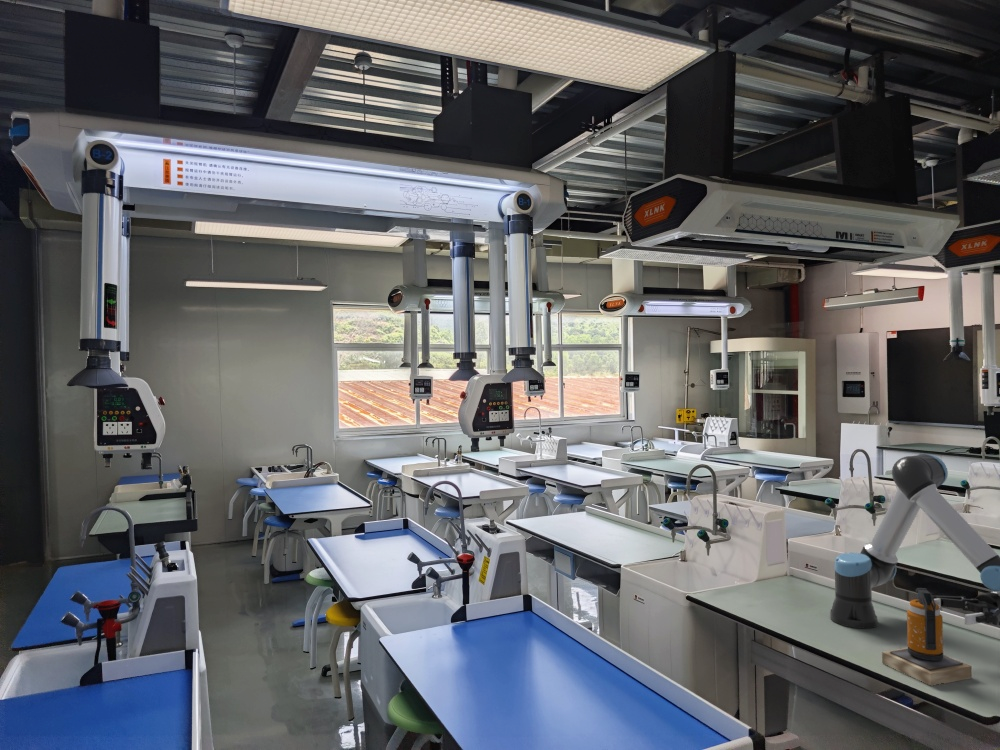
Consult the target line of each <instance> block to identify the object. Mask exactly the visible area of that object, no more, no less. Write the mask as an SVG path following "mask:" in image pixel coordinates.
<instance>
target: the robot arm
mask: <svg viewBox="0 0 1000 750" xmlns="http://www.w3.org/2000/svg"><path fill="white" fill-rule="evenodd" d="M948 473H949V471H948V468H947V465H946V463H945V462H944V461H943V460H942V459H941V458H940V457H938V456H935V455H933V454H929V453H928V454H926V453H919V454H916V455H908V456H903V457H901V458H900V459H897V461H896V462H894V464H893V466H892V469H891V476H892V479H893V482H894V483H895V485H896V487H897V491H896V492H895V494H894V496H893V499H892V500H891V502H890V505H889V507H888V508H887V510H886V512H885V514H884V516H883V518H882V520H881V522H880V524H879V526H878V528H877V530H876V532H875V533H874V535H873V537H872V540H871V542H867V543H864V545H863V547H862V549H861V551H860V552H859V553H858V552H848V553H847V552H845V553H840V554H838V555H837V556H836V558H835V559H834V560H835V562H834V566H833V567H834V584H835V586H834V587H835V588H834V589H835V591H834V593H835V594H834V596H835V597H834V600H833V603H832V606H831V609H830V611H829V614H830V615H829V616H830V617H829V619H830V620H831V621H833V623H836V624H838V625H841V626H843V627H844V626H845V627H848V628H849V627H850V628H853V629H873V628H877V627H878V623H879V622H878V621H879V620H878V616H877V614H876V611H875V608H874V605H873V601H872V600H873V599H872V596H873V595H872V593H873V592H872V589H874V588H877V587H878V586H881V585H882V586H884V585H885V584H888V583H889V582H891V581H892V580H893V579H894V578H895V576H896V575H897V574H896V573H897V564H898V559H899V558H898V556H897V553H898V550H899V549H900V547H901V545H902V543H903V541H904V539H905V538H906V536H907V534H908V532H909V530H910V528H911V526H912V525H913V522H914V520H915V519H916V517H917V515H918V513H919V512H920V509H921V510H922V511H923V512H924V514H926V516H928V518H929V519H930V520H931V521H932V522H933V523H934V524H935V525H936V527H938V528H939V530H940V531H941V533H943V534H944V535H945V537H947V539H948V540H949V541H951V543H952V544H953V545H954V546H955V547H956V548H957V550H958V551H960V553H961V554H962V555H963V556H964V557H965V558H966V560H968V561H969V562H970V563H971V564H972V566H974V568H975V569H976V570H977V571H978V572H979V573H980V575H979V576H980V581H981V583H982V584H983V585H984V587H986V589H987V588H988V589H989V590H990V591H991V592H989V591H988V592H984V593H983V592H982V593H980V594H978V595H977V596H976V597H975V598H966V596H964V595H960V596H959V595H955V596H954V595H933V594H932V596H933V598H934V601H936V603H937V602H938V603H940V605H939V607H940V609H941V608H942V607H945V608H952V609H961V610H962V611H965V612H966V611H968V612H972V613H967V614H964V625H966V626H968V625H969V626H971V625H975V624H981V623H982V624H983V623H986V624H990V623H991V624H992V625H993V626H997V625H999V624H1000V555H999V554H998V553H997V552H996V551H995V550H994V548H992V547H991V546H990V545H989V544H988V543H987V542H986V540H985V539H984V538H983V537H982V536H981V535H980V534H979V533H978V532H977V531H976V530H975V529H974V528H973V527H972V526H971V524H970V523H969V522H968V521H967V520H966V519H965V518H964V517H963V516H962V515H961V514H960V513H959V512H958V511H957V510H956V508H955V507H953V506H952V505H951V503H949V501H947V499H946V498H945V497H944V496H943V495H942V494H941V493H940V492H939V491H938V490H937V488H938V487H940V486H942V485H943V484H944V483H945V482H946V481H947V479H948V475H949V474H948ZM932 602H933V601H932ZM966 606H967V607H966Z"/></svg>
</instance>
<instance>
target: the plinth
mask: <svg viewBox="0 0 1000 750" xmlns="http://www.w3.org/2000/svg"><path fill="white" fill-rule="evenodd" d="M881 655H882V656H881V657H882V658H881V659H882V660H881V664H882V663H883V664H882V665H884V664H886V665H885V666H887V665H888V666H887V667H889V666H890V667H889V668H891V667H892V669H893V668H894V669H893V670H895V669H896V671H897V670H898V671H897V672H899V671H901V672H900V673H902V672H903V673H902V674H904V673H905V674H904V675H906V674H907V675H906V676H908V675H909V676H908V677H910V676H911V677H910V678H912V677H914V678H916V679H915V680H917V679H918V680H917V681H919V680H920V681H919V682H921V681H922V682H921V683H923V682H924V683H923V684H925V683H926V684H925V685H927V684H928V685H927V686H929V685H934V686H937V685H936V684H939V685H942V684H941V683H944V684H949V683H953V682H958V681H964V680H968V679H969V680H970V679H972V674H973V673H972V672H973V670H972V665H970V664H969V663H968V664H967V663H965V662H962V661H960V660H958V659H955V658H952V657H950V656H948V655H945V654H944V653H943V658H942V659H940V660H935V661H928V660H923V659H919V658H917V657H915V656H913V655H911V654H910V653H909V652H908V647H904V648H899V649H893V650H887V651H882V652H881ZM914 678H913V679H914Z"/></svg>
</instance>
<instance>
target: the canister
mask: <svg viewBox="0 0 1000 750" xmlns="http://www.w3.org/2000/svg"><path fill="white" fill-rule="evenodd" d="M915 593H917V597H918V599H916V598H915V599H911V600H910V601H909V603H908V609H907V610H906V619H907V620H906V623H907V628H906V630H907V633H906V634H907V648H908V652H909V653H910V654H911V655H913V656H915V657H917V658H919V659H923V660H928V661H935V660H940V659H942V658H943V654H944V635H943V633H944V630H943V629H944V628H943V627H944V626H943V615H942V614H941V608H940V607H939V605H940V603H938V602H937V603H936V601H934V598H933V594H932V592H930V591H929V590H927V588H923V587H917V588H916V589H915ZM932 601H933V602H932Z"/></svg>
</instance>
